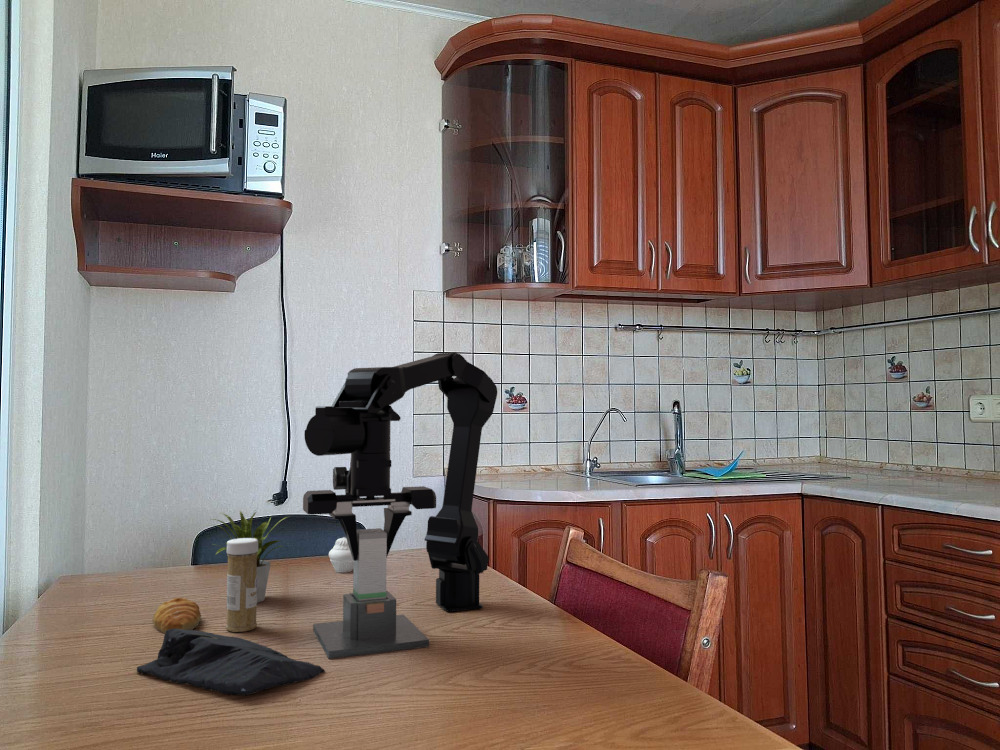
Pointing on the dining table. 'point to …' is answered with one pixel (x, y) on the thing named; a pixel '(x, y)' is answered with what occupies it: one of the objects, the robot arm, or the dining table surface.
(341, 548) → the muffin
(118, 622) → the dining table surface
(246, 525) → the house plant
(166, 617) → the pastry
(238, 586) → the sprinkles bottle
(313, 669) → the dark slate chunk
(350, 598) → the stand
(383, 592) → the column
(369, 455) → the robot arm
